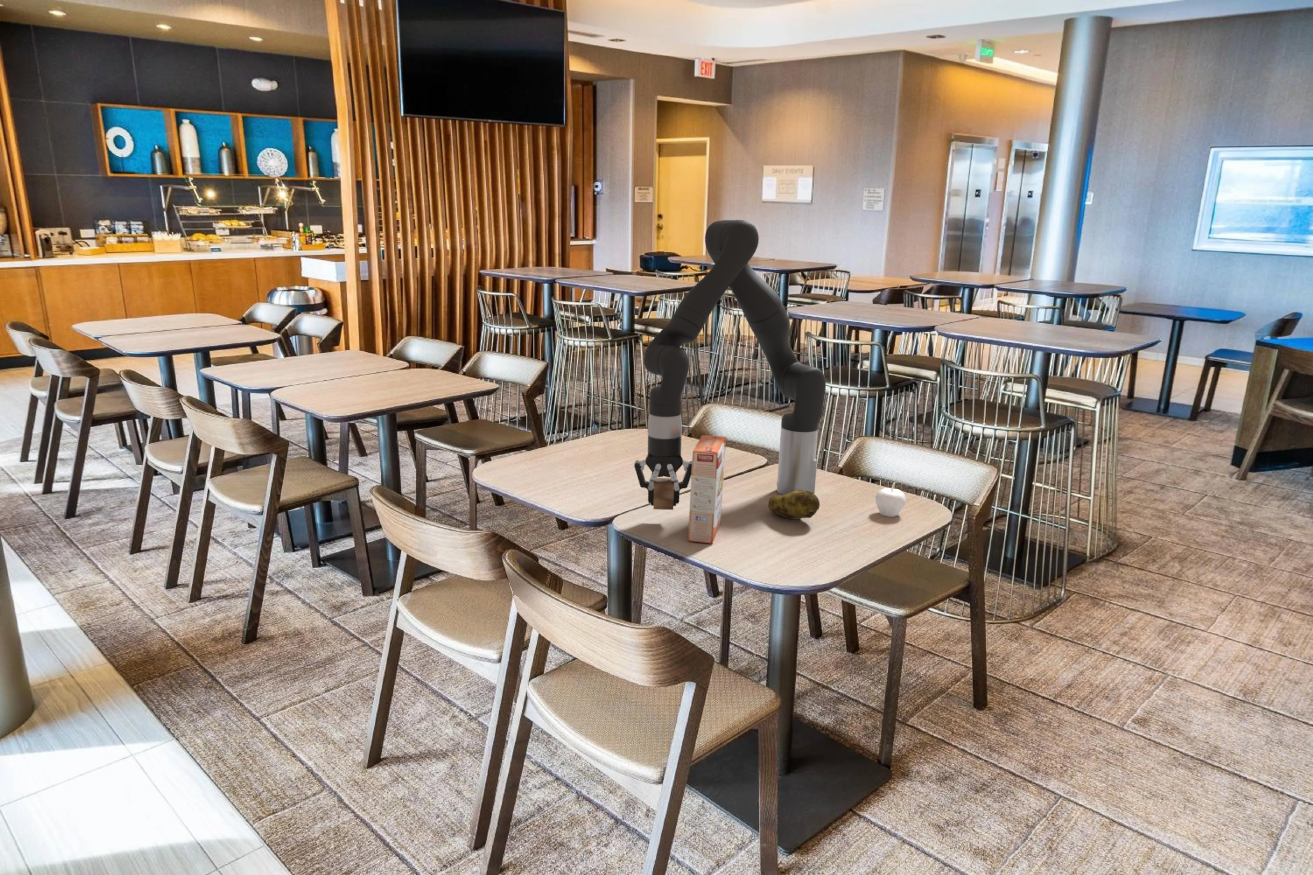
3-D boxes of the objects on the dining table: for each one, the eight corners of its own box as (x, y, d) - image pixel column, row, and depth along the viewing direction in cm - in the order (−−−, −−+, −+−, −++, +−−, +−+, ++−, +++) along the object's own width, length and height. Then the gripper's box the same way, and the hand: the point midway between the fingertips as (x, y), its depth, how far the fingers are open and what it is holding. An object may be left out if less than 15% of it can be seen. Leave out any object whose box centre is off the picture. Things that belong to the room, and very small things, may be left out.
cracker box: (714, 545, 188) (719, 452, 182) (687, 542, 189) (690, 450, 184) (722, 522, 201) (727, 435, 196) (697, 520, 202) (700, 433, 197)
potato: (792, 508, 212) (794, 477, 210) (823, 526, 201) (826, 493, 199) (763, 512, 208) (765, 481, 206) (793, 531, 197) (796, 498, 195)
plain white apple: (910, 516, 209) (914, 484, 207) (889, 521, 205) (892, 489, 203) (889, 507, 215) (892, 476, 213) (868, 512, 211) (871, 480, 209)
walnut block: (673, 502, 201) (673, 478, 200) (673, 509, 197) (673, 484, 195) (653, 502, 201) (654, 477, 200) (653, 509, 197) (653, 484, 195)
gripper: (696, 429, 198) (694, 499, 203) (633, 427, 198) (633, 498, 203) (697, 438, 191) (695, 511, 195) (632, 436, 191) (631, 509, 196)
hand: (663, 504), depth 199 cm, fingers closed on walnut block, 4 cm apart
